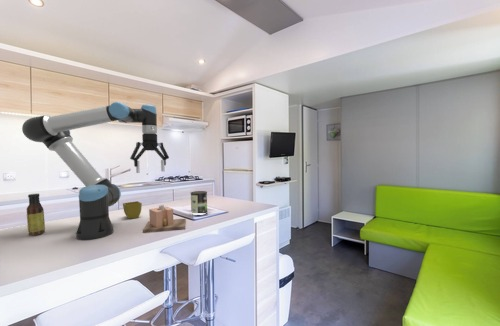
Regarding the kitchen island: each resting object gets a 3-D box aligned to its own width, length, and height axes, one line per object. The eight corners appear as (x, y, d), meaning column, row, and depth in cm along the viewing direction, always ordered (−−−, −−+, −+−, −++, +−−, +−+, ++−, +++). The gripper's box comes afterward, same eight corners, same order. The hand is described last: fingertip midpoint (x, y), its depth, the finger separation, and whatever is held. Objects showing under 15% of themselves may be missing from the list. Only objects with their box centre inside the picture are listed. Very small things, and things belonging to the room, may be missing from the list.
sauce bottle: (48, 232, 118) (46, 193, 118) (34, 236, 112) (32, 195, 112) (38, 231, 120) (37, 192, 119) (24, 235, 114) (22, 194, 113)
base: (142, 232, 116) (141, 209, 115) (148, 224, 130) (147, 203, 130) (184, 229, 120) (184, 206, 120) (185, 221, 135) (185, 201, 134)
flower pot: (122, 217, 145) (122, 203, 145) (137, 214, 151) (137, 200, 151) (126, 220, 139) (126, 205, 138) (142, 217, 144) (142, 202, 144)
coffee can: (208, 211, 156) (208, 190, 156) (205, 215, 146) (205, 193, 146) (193, 212, 157) (192, 190, 156) (189, 216, 146) (188, 193, 146)
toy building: (149, 224, 125) (149, 209, 125) (166, 220, 131) (165, 206, 131) (156, 227, 118) (156, 212, 118) (173, 224, 125) (173, 209, 124)
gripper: (127, 131, 118) (128, 173, 119) (174, 134, 136) (175, 171, 136) (122, 132, 124) (124, 173, 125) (168, 135, 141) (169, 170, 142)
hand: (150, 172), depth 130 cm, fingers open, 13 cm apart
